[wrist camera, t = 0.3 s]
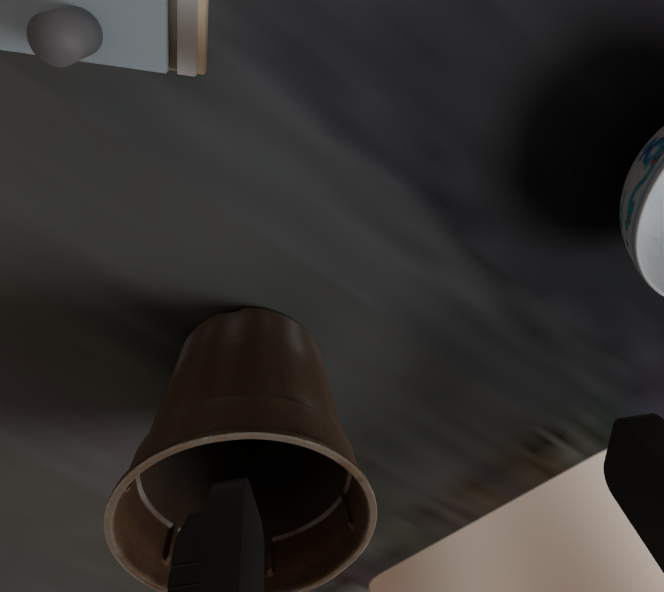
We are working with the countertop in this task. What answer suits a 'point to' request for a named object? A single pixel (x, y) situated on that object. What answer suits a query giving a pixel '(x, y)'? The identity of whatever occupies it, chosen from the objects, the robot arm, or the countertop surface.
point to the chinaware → (646, 212)
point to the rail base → (188, 36)
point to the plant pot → (247, 455)
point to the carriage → (89, 31)
